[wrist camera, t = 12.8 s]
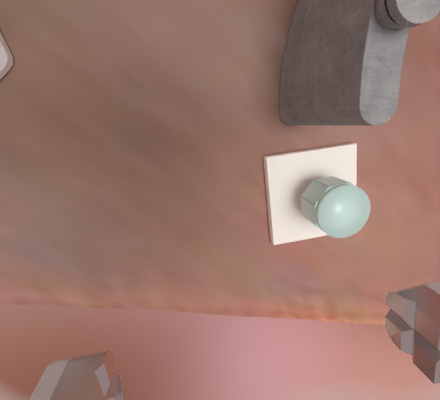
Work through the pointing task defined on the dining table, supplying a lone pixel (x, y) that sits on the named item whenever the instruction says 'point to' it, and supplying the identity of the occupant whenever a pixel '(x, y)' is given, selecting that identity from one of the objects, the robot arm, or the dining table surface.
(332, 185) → the cap
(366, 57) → the hip flask
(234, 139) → the dining table surface
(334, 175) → the post stand
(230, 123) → the dining table surface
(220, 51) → the dining table surface
